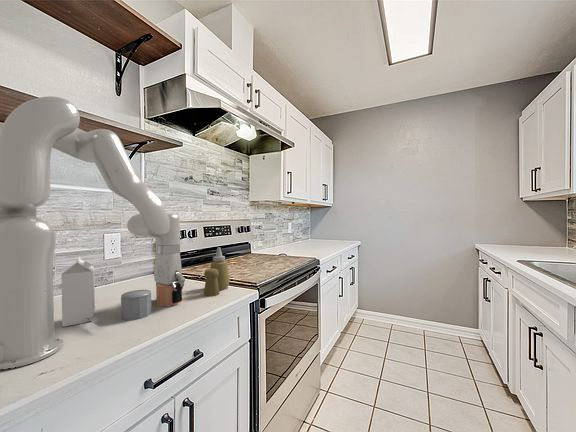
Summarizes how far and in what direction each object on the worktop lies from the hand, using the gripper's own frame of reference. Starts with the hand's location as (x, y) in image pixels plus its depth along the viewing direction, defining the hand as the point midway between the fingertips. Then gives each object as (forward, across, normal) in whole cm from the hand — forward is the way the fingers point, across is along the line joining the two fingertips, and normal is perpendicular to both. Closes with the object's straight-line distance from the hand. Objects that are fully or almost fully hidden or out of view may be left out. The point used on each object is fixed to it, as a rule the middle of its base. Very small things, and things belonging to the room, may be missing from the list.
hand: (169, 299), depth 91 cm
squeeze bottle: (+3, +1, +21) cm, 21 cm away
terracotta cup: (+2, 0, 0) cm, 2 cm away
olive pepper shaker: (+3, +5, +14) cm, 15 cm away
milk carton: (+3, -11, -22) cm, 25 cm away
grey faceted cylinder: (+2, +3, -12) cm, 13 cm away
